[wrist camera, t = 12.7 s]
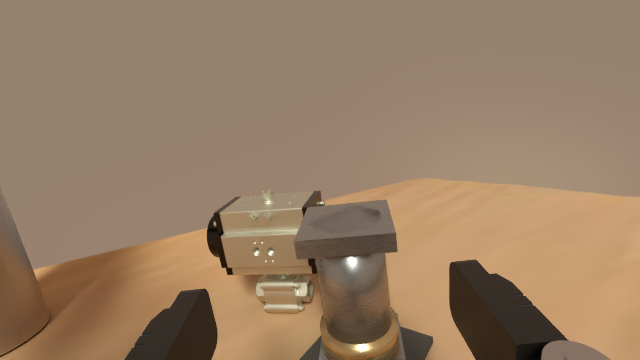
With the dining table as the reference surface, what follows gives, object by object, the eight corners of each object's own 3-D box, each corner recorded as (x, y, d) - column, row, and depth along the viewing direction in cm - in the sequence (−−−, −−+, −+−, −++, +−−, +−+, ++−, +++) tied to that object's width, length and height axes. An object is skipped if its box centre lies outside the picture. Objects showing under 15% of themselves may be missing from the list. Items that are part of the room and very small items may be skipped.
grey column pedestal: (318, 390, 23) (293, 241, 20) (326, 329, 28) (307, 207, 26) (409, 388, 22) (395, 232, 19) (398, 325, 28) (386, 199, 25)
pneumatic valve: (244, 290, 37) (221, 187, 34) (348, 290, 34) (333, 178, 31) (219, 324, 32) (190, 205, 29) (340, 327, 29) (321, 196, 26)
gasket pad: (289, 377, 25) (288, 372, 24) (345, 314, 31) (345, 309, 31) (389, 430, 20) (389, 423, 20) (433, 342, 26) (432, 336, 26)
